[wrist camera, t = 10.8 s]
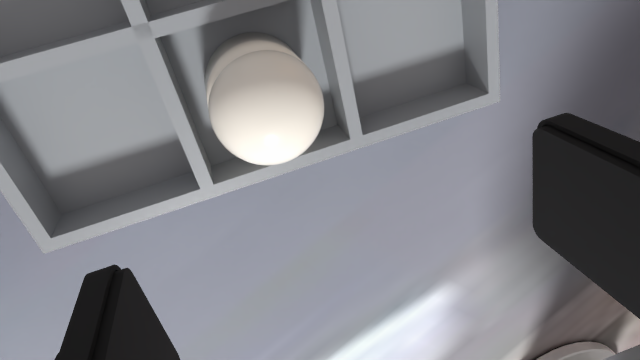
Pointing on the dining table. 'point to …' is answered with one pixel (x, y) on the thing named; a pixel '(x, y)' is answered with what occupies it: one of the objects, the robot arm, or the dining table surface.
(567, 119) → the robot arm
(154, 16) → the egg tray
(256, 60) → the cream egg
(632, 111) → the dining table surface
